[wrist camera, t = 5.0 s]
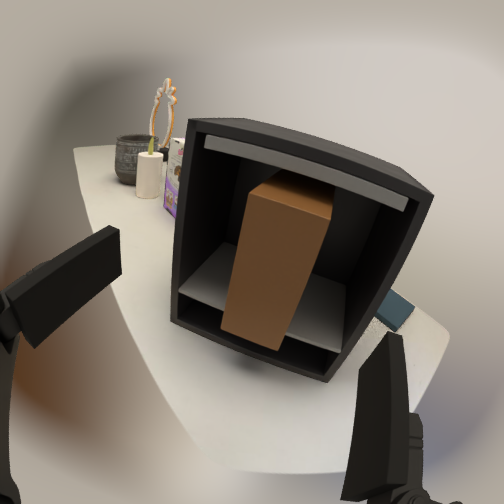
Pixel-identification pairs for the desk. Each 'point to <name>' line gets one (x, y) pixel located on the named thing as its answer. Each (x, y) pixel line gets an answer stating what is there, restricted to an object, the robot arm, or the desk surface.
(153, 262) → the desk surface
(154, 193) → the candle
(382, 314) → the silicone mat
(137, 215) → the desk surface
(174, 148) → the candy box
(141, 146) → the planter
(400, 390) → the robot arm
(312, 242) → the brown packet
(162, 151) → the lamp
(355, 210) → the mini cabinet
